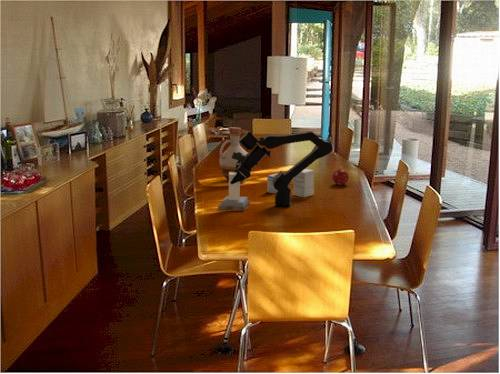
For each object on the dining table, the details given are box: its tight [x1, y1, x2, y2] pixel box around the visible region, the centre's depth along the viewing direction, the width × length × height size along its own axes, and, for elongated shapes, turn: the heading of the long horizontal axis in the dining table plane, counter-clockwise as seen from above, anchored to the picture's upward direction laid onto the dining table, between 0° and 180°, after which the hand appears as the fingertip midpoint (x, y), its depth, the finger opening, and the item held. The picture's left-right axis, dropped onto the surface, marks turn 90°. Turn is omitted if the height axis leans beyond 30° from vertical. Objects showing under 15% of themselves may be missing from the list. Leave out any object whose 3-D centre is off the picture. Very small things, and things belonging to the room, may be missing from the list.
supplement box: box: [293, 168, 315, 198], centre depth 264 cm, size 7×7×13 cm
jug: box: [218, 126, 249, 183], centre depth 293 cm, size 20×18×30 cm
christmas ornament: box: [332, 166, 350, 186], centre depth 285 cm, size 9×9×10 cm
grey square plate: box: [217, 200, 251, 212], centre depth 246 cm, size 12×12×2 cm
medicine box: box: [267, 172, 279, 194], centre depth 273 cm, size 8×4×9 cm, turn 141°
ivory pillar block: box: [228, 172, 241, 201], centre depth 243 cm, size 5×5×12 cm
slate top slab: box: [221, 195, 249, 207], centre depth 245 cm, size 10×10×2 cm
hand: (230, 181), depth 243 cm, fingers open, 9 cm apart
